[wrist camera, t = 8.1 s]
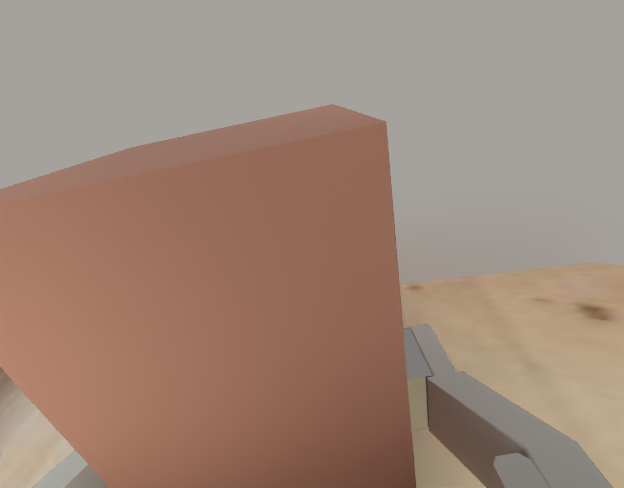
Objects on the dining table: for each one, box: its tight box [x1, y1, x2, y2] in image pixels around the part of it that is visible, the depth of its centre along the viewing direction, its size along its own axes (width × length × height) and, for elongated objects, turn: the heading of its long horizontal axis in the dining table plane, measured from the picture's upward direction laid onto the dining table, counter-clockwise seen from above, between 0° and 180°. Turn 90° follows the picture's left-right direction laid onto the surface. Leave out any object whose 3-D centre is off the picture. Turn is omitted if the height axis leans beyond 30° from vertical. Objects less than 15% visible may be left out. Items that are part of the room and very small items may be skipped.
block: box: [0, 104, 416, 488], centre depth 8 cm, size 5×5×14 cm
